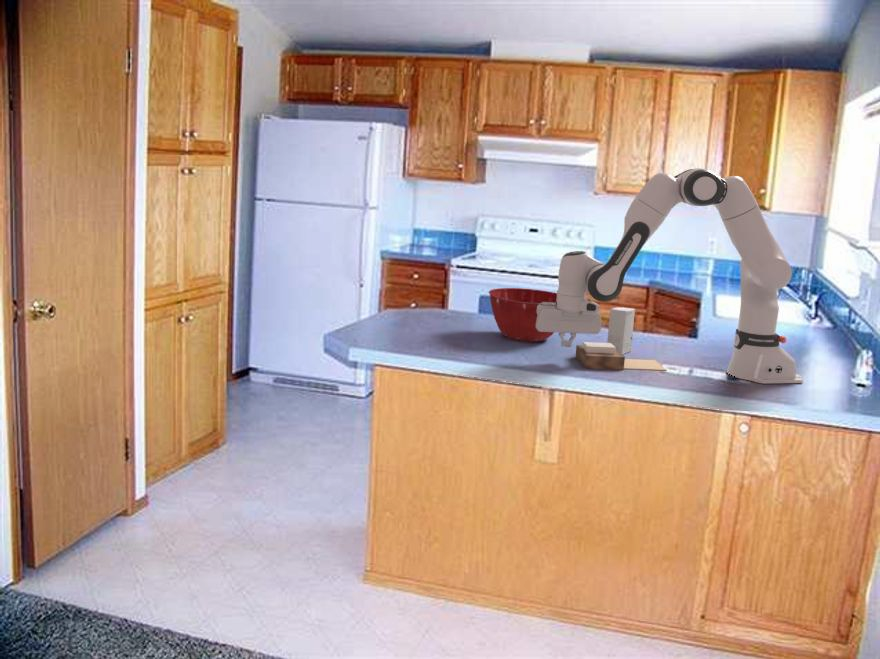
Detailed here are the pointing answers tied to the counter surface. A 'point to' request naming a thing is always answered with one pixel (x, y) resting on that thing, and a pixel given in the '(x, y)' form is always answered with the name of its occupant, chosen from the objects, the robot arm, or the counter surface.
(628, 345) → the skincare box
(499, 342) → the counter surface
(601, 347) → the white rectangular prism
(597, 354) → the brown box
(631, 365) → the mat
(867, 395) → the counter surface
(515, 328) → the mixing bowl
